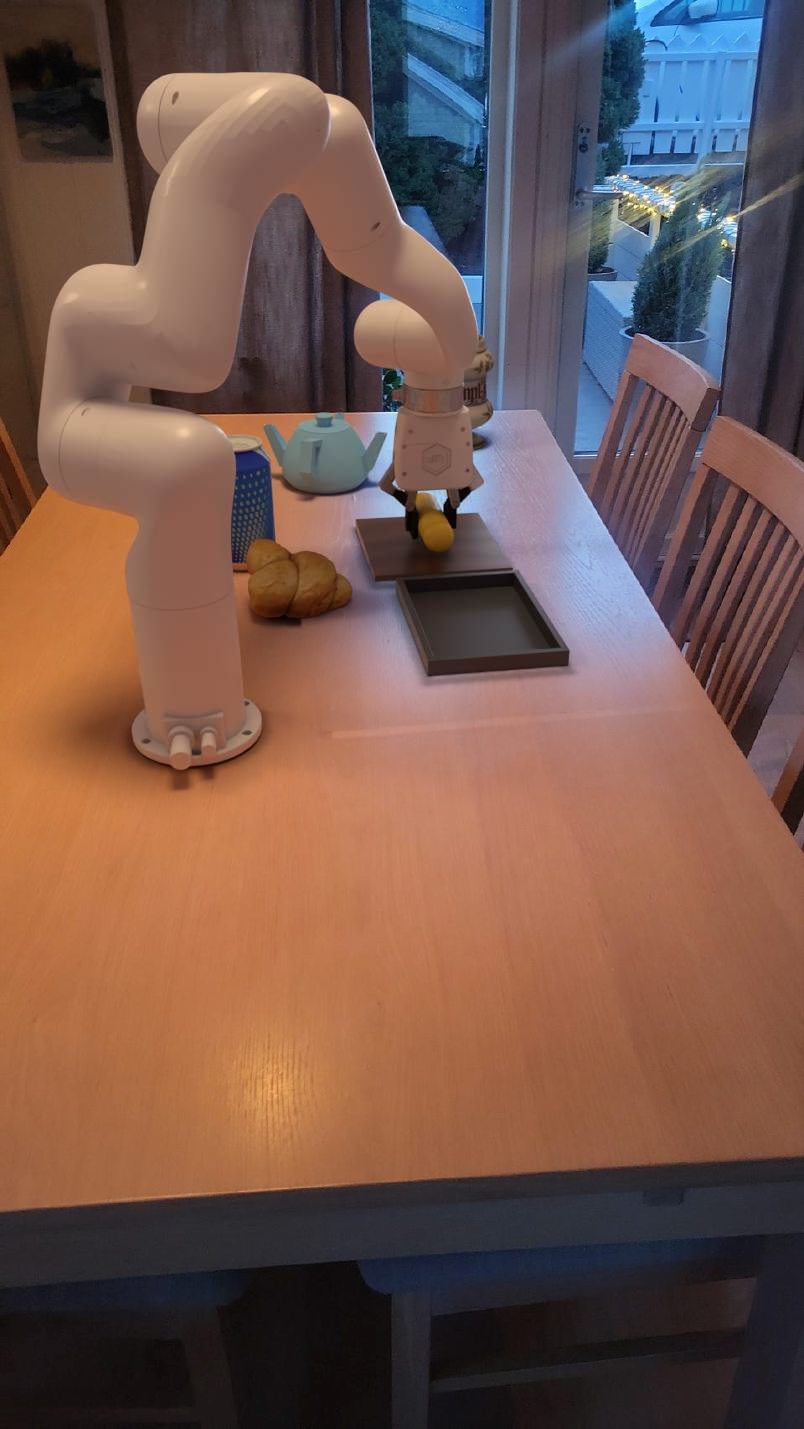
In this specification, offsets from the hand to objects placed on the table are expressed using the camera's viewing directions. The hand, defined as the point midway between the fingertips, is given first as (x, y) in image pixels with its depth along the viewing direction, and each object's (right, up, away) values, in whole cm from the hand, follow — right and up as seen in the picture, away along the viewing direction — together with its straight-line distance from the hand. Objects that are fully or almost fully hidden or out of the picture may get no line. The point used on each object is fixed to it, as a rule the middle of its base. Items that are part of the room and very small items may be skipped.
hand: (430, 533), depth 139 cm
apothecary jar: (+6, +24, +44) cm, 50 cm away
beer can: (-25, -4, -1) cm, 25 cm away
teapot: (-16, +13, +26) cm, 33 cm away
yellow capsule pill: (0, 0, 0) cm, 0 cm away
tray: (+5, -15, -19) cm, 24 cm away
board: (0, -2, +1) cm, 3 cm away
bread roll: (-16, -12, -14) cm, 24 cm away
